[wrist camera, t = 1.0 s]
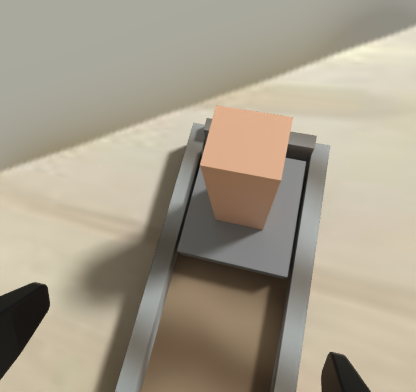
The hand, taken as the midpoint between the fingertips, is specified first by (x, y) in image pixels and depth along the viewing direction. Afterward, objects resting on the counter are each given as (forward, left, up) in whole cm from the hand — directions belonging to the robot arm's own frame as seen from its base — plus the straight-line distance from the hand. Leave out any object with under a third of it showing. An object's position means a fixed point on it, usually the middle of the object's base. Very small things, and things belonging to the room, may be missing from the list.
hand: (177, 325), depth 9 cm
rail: (+3, 0, -13) cm, 14 cm away
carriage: (+7, +2, -12) cm, 14 cm away
